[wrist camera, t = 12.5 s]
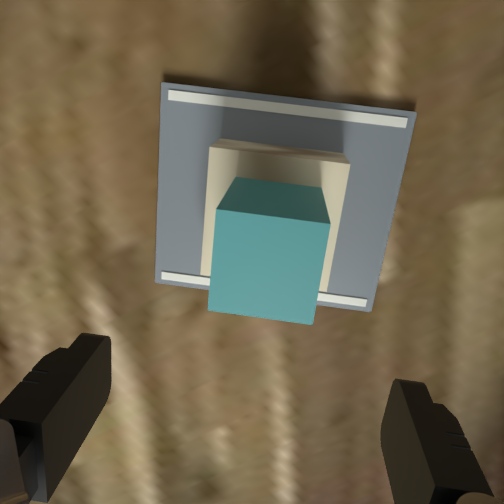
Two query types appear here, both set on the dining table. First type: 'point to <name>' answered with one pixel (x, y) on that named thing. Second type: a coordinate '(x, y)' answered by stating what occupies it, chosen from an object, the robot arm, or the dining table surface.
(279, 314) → the teal block
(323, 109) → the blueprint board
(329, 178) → the base block
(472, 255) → the dining table surface
